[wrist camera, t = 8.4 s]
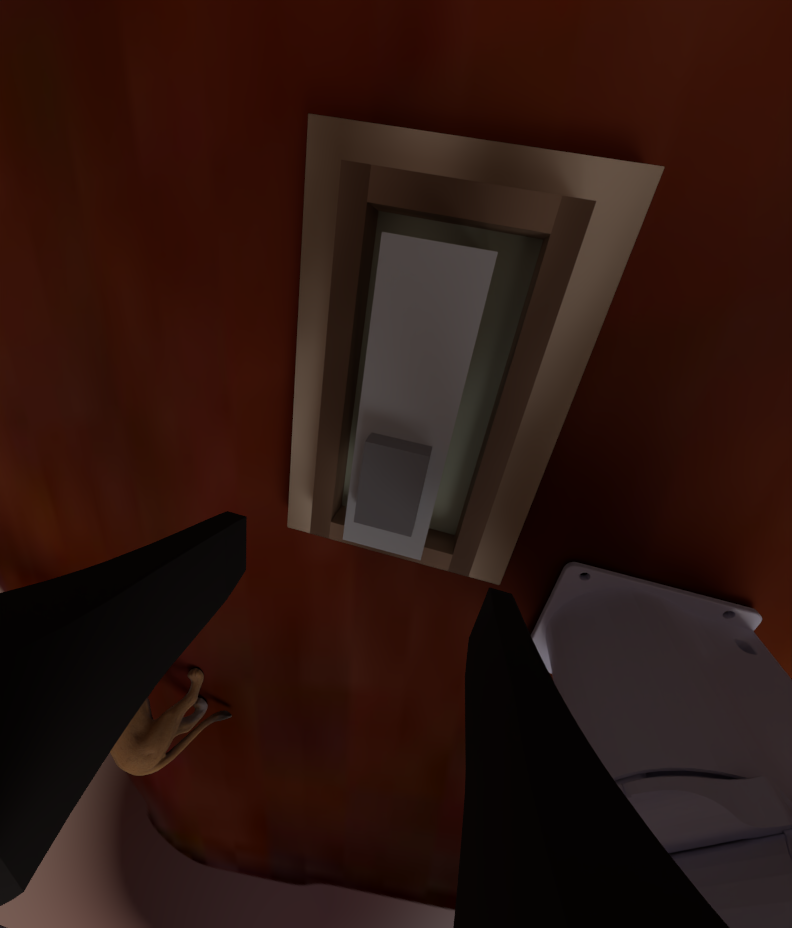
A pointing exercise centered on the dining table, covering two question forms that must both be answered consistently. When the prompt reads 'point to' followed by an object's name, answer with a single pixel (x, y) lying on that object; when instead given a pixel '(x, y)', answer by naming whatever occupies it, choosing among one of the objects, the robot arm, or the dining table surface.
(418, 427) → the grey pillar with nub
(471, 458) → the cradle jig
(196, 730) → the lion figurine
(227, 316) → the dining table surface
